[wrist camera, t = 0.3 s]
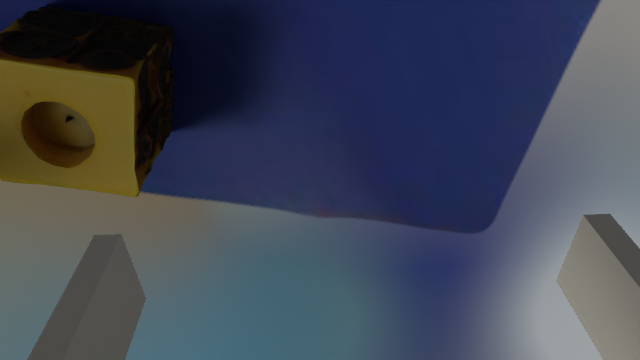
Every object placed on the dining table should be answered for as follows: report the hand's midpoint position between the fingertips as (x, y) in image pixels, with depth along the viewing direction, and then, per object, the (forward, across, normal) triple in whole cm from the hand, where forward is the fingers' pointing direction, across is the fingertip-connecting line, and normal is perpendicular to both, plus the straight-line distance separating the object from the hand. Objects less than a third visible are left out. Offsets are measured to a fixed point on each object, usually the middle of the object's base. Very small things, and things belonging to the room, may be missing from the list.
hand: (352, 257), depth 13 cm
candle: (+28, -18, -5) cm, 33 cm away
